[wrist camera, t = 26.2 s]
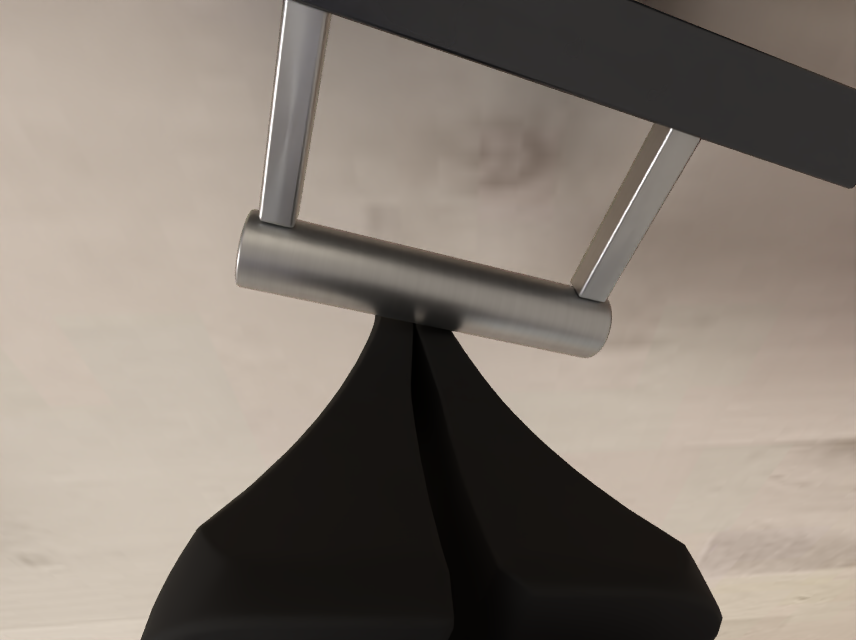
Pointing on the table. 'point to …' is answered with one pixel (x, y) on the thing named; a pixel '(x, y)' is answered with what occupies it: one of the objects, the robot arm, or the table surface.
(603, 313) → the pull-out tray box
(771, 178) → the table surface
